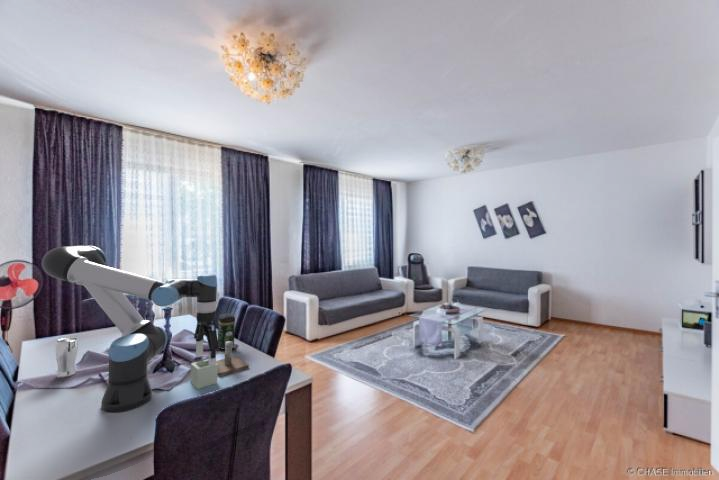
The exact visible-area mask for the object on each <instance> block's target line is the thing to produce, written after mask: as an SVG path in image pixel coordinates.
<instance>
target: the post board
mask: <svg viewBox="0 0 719 480" xmlns="http://www.w3.org/2000/svg"><path fill="white" fill-rule="evenodd" d="M216 363H217V364H218V372H217V377H219V378H220V377H224V376H226V375H230V374H232V373H236V372H240V371H242V370H244V371H245V370H246V369H249V368H250V365H249V364H248V363H247V362H246V361H243V360H242V359H241V358H239V357H237V356H236V355H234V356H233V348H232V341H227V342H225V350H224V358H222V359H219V360H216Z"/></svg>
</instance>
